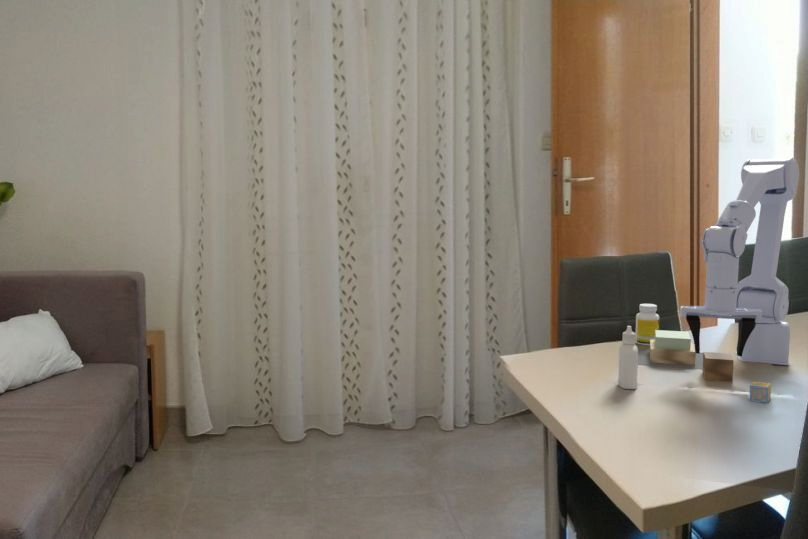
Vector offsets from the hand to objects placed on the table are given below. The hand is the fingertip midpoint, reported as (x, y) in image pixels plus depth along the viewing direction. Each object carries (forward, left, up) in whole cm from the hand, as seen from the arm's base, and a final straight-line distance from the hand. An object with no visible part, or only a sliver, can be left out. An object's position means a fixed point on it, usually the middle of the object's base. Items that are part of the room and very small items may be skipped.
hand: (718, 353), depth 132 cm
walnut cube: (0, 0, -6) cm, 6 cm away
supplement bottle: (+13, -26, -6) cm, 30 cm away
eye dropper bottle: (+17, +9, -6) cm, 20 cm away
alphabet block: (-6, +11, -6) cm, 14 cm away
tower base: (+8, -12, -5) cm, 15 cm away
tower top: (+8, -12, -2) cm, 15 cm away
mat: (+8, -12, -5) cm, 15 cm away
